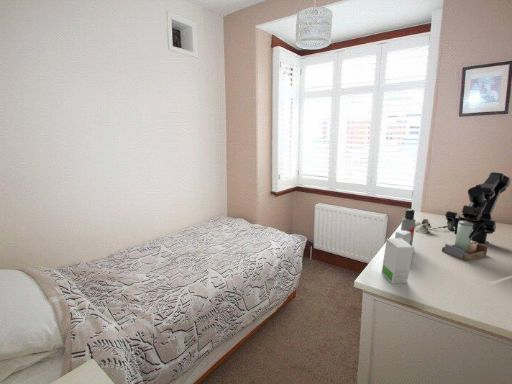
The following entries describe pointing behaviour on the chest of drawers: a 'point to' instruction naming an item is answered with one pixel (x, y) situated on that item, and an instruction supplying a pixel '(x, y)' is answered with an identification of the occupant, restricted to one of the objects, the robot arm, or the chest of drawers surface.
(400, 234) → the skincare box
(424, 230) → the artificial flower
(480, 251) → the wooden tray
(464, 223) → the mint green grey canister
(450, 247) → the bar
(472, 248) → the jar
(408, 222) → the lotion bottle
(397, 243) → the skincare box
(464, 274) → the chest of drawers surface
